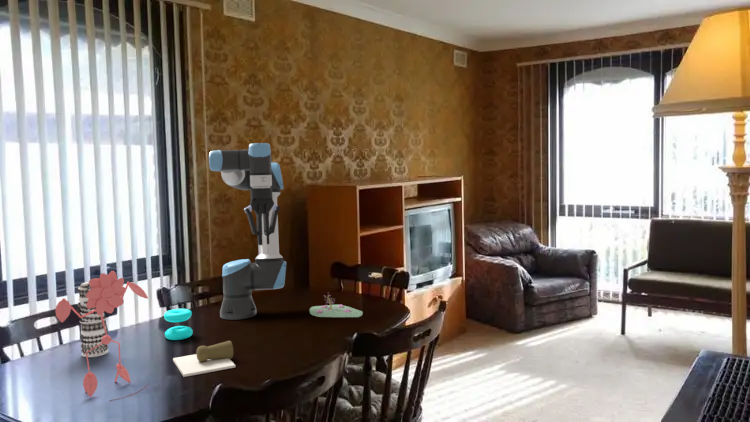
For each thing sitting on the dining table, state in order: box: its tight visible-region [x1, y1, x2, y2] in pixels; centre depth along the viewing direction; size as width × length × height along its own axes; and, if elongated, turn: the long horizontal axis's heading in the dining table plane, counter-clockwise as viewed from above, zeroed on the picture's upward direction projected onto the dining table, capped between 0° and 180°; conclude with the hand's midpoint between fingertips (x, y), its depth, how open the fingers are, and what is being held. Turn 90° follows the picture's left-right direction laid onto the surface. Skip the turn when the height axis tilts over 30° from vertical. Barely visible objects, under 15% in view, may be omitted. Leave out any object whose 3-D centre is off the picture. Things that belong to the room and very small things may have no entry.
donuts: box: [163, 308, 194, 341], centre depth 230 cm, size 10×10×10 cm
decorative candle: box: [76, 281, 109, 358], centre depth 212 cm, size 9×9×25 cm
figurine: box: [54, 270, 149, 402], centre depth 175 cm, size 15×26×35 cm, turn 143°
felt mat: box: [172, 353, 236, 378], centre depth 199 cm, size 18×16×1 cm
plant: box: [309, 291, 364, 318], centre depth 262 cm, size 25×21×9 cm
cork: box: [195, 340, 234, 362], centre depth 201 cm, size 6×6×11 cm
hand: (264, 253), depth 217 cm, fingers closed
